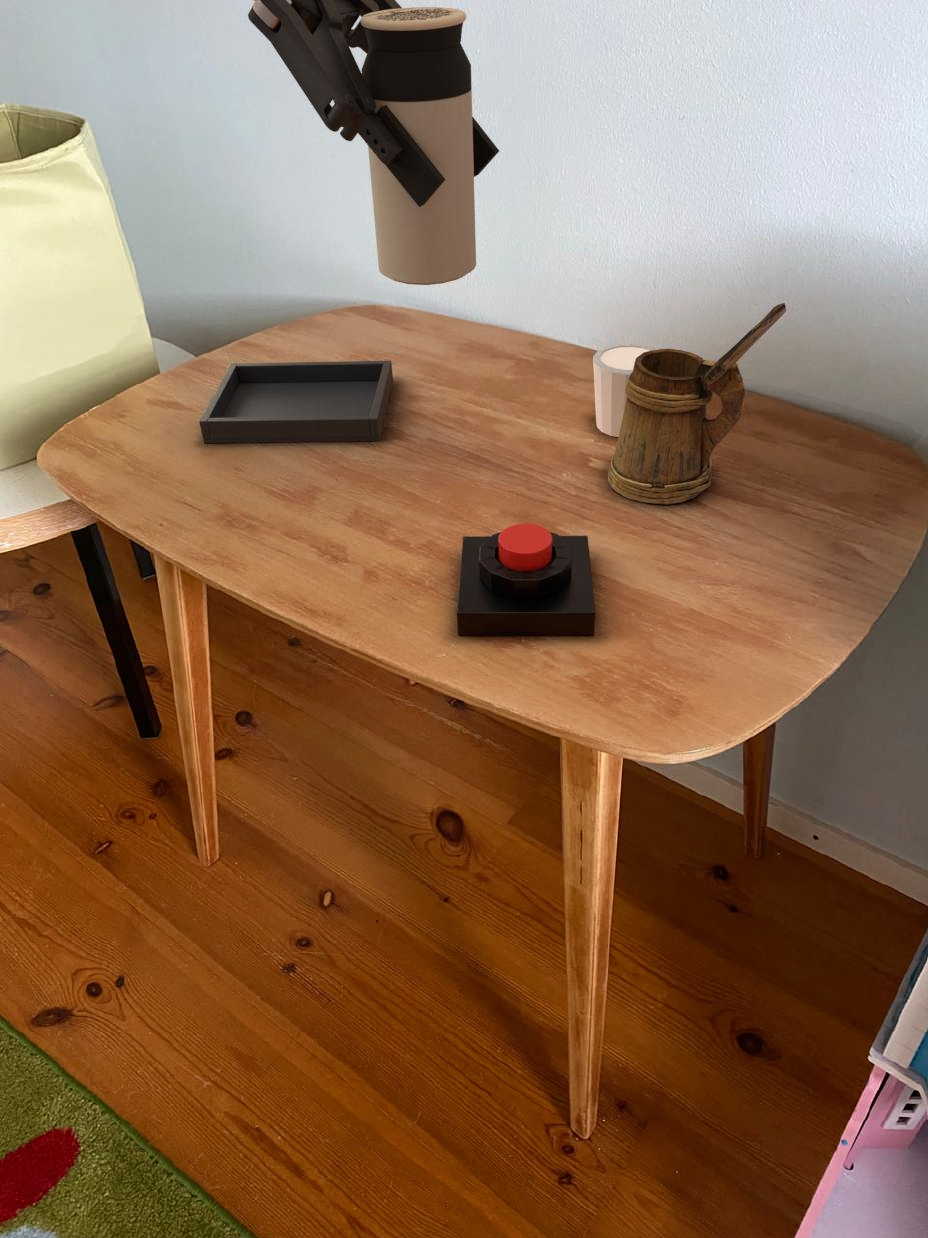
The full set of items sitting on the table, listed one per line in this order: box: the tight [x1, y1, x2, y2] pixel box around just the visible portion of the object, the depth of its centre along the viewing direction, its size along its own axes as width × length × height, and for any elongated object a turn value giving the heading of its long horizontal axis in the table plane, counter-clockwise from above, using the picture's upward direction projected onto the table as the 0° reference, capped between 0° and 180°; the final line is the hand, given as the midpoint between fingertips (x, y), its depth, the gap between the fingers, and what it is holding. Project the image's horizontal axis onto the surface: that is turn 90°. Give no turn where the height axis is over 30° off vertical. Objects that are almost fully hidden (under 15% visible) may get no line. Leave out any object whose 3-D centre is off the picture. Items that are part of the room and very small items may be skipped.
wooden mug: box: [607, 302, 787, 505], centre depth 82 cm, size 9×14×18 cm, turn 54°
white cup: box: [592, 343, 657, 438], centre depth 96 cm, size 7×7×7 cm
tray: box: [198, 360, 394, 444], centre depth 102 cm, size 18×14×2 cm
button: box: [499, 523, 552, 571], centre depth 74 cm, size 4×4×2 cm
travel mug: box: [359, 6, 477, 286], centre depth 75 cm, size 8×8×18 cm
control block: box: [456, 531, 596, 637], centre depth 75 cm, size 10×10×4 cm
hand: (460, 177), depth 75 cm, fingers closed on travel mug, 8 cm apart
